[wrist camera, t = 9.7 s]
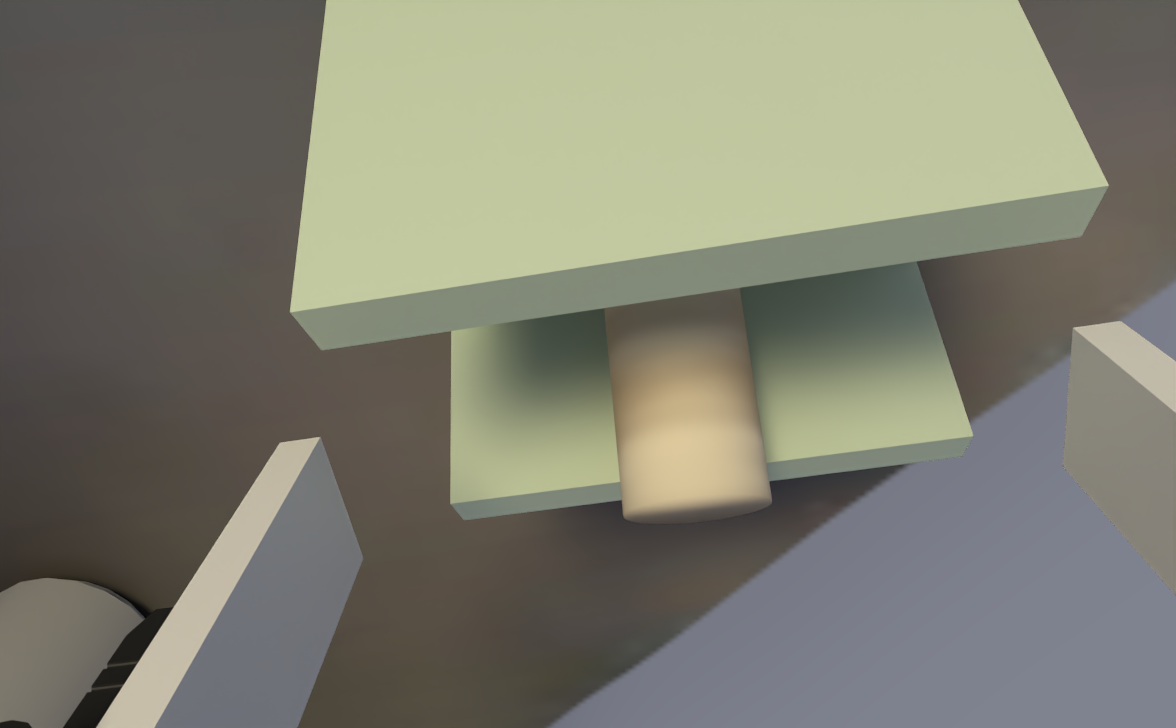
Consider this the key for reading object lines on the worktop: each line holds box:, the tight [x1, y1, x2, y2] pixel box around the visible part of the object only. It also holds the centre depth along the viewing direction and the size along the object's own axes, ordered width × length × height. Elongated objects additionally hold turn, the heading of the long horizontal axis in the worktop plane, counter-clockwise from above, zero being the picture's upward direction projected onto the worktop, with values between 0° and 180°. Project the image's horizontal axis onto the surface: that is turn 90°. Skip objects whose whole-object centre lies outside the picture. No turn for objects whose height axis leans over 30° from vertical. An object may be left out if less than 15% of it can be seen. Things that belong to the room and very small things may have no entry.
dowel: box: [604, 288, 772, 524], centre depth 21 cm, size 3×3×12 cm
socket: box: [290, 0, 1109, 520], centre depth 20 cm, size 16×14×16 cm
